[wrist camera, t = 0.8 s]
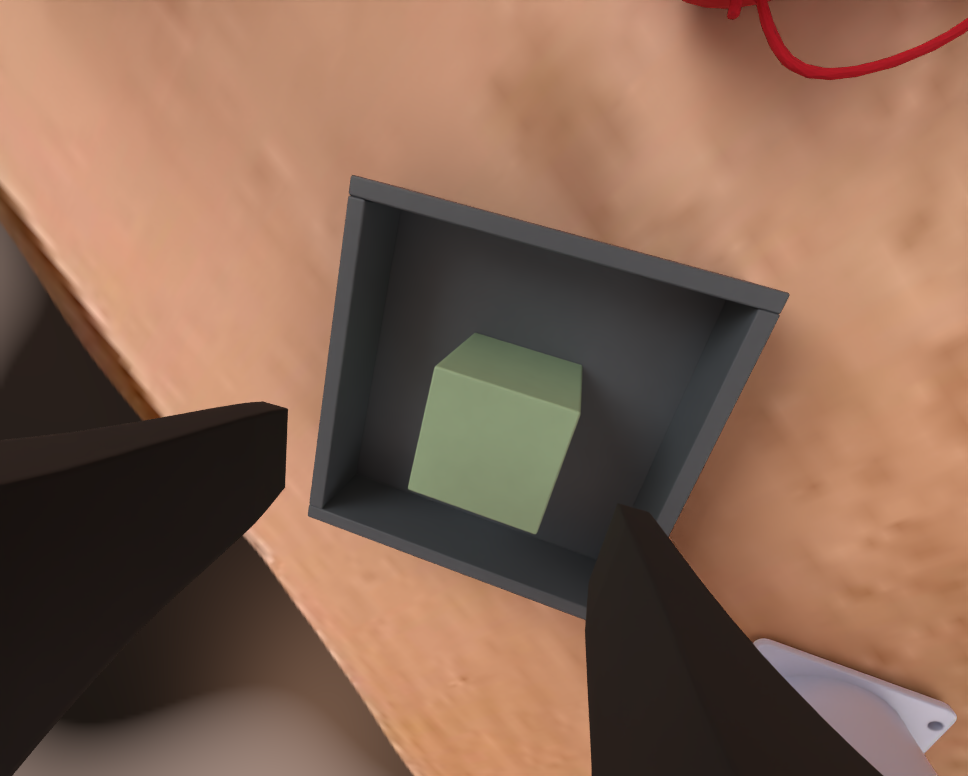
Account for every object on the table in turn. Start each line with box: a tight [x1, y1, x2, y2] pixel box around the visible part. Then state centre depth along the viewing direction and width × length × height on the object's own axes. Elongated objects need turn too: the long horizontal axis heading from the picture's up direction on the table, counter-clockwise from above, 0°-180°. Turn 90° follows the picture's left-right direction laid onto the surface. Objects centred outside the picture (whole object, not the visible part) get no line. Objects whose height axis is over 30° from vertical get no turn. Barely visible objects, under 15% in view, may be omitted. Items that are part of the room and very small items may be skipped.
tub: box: [308, 175, 789, 620], centre depth 17 cm, size 13×13×3 cm
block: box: [408, 333, 583, 534], centre depth 16 cm, size 4×4×5 cm
